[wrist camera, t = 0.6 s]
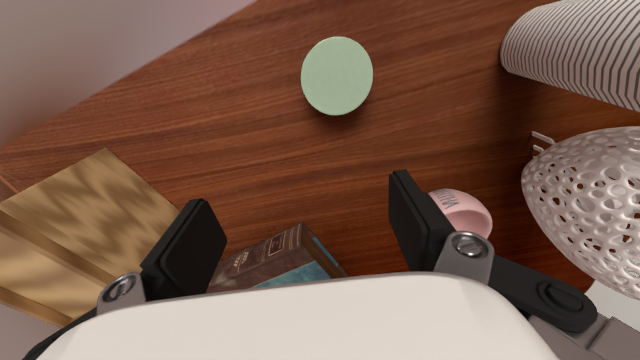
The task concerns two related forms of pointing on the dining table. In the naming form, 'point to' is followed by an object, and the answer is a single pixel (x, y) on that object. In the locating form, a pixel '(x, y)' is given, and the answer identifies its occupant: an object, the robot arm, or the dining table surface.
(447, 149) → the dining table surface
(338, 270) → the book
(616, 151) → the decorative heart
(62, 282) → the open wooden box
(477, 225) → the mug
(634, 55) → the cup
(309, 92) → the disc
